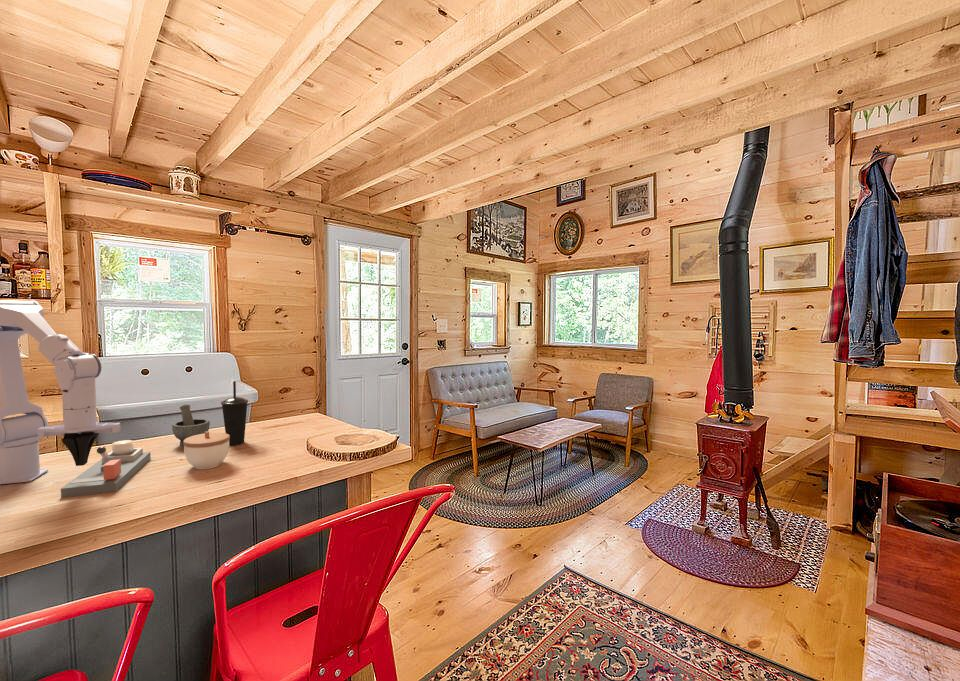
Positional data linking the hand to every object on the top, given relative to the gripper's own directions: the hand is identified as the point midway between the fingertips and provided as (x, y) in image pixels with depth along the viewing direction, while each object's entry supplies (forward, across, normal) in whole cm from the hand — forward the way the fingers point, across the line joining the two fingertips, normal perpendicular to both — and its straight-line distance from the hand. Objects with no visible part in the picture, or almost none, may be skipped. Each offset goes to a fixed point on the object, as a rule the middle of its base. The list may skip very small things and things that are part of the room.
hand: (81, 464), depth 102 cm
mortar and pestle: (+6, +15, +33) cm, 37 cm away
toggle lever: (+2, +2, +8) cm, 8 cm away
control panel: (+6, +3, +8) cm, 10 cm away
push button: (+2, +3, +16) cm, 16 cm away
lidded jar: (+6, +24, +9) cm, 26 cm away
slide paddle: (+4, +6, 0) cm, 7 cm away
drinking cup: (+6, +28, +29) cm, 41 cm away
